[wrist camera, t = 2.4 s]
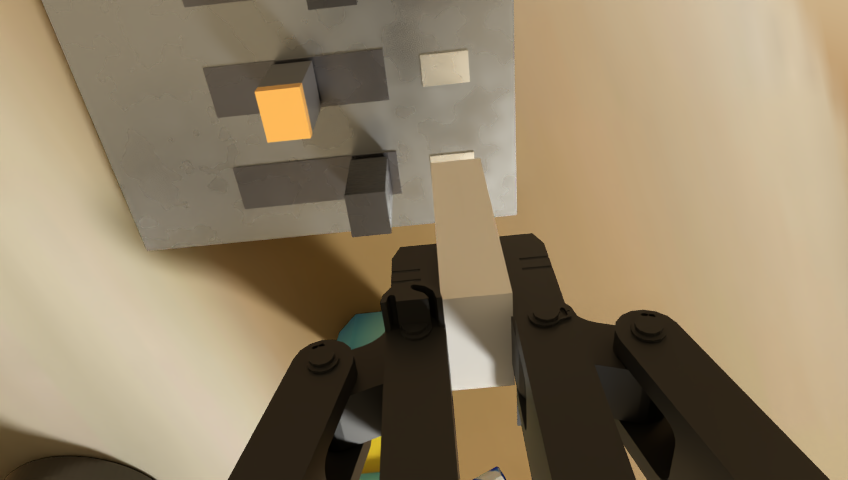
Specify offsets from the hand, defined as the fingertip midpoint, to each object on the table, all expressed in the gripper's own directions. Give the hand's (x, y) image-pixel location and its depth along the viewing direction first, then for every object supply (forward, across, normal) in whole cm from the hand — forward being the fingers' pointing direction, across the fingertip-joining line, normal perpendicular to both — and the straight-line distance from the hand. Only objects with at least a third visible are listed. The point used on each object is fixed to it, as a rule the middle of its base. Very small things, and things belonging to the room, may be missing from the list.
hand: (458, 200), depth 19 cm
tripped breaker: (+13, -7, 0) cm, 15 cm away
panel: (+16, -7, 0) cm, 17 cm away
